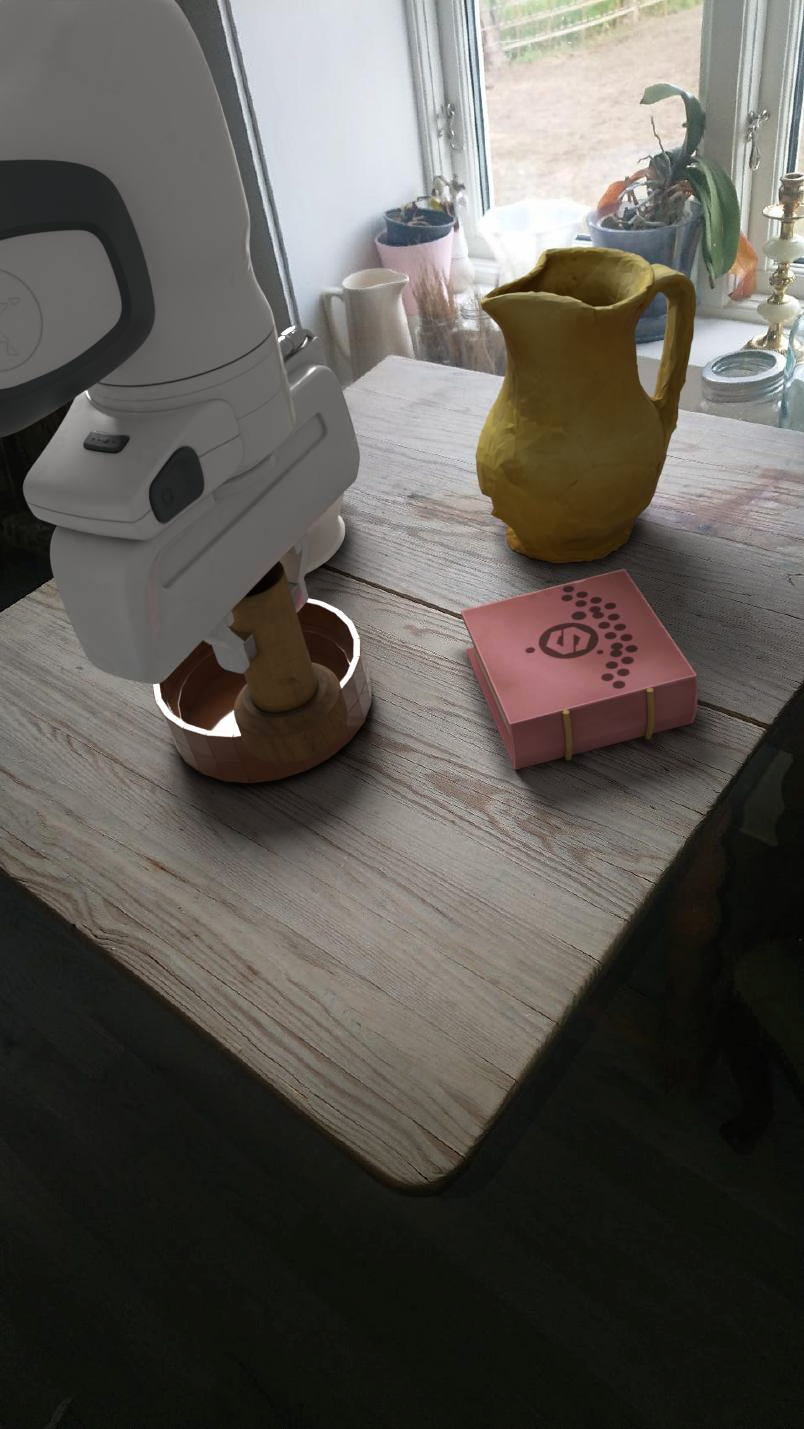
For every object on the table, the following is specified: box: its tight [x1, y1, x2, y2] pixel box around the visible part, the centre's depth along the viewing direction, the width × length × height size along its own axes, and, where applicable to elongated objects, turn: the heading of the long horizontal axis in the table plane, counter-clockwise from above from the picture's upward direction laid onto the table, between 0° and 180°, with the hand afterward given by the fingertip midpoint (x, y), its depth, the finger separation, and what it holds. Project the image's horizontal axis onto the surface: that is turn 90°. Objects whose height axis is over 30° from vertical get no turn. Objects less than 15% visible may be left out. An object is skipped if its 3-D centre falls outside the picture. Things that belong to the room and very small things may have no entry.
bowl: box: [152, 598, 372, 784], centre depth 81 cm, size 17×17×6 cm
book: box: [460, 568, 699, 771], centre depth 78 cm, size 14×15×5 cm
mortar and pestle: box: [228, 561, 348, 763], centre depth 53 cm, size 7×6×18 cm
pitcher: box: [474, 246, 697, 564], centre depth 88 cm, size 17×19×25 cm
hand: (266, 635), depth 54 cm, fingers closed on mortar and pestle, 4 cm apart
